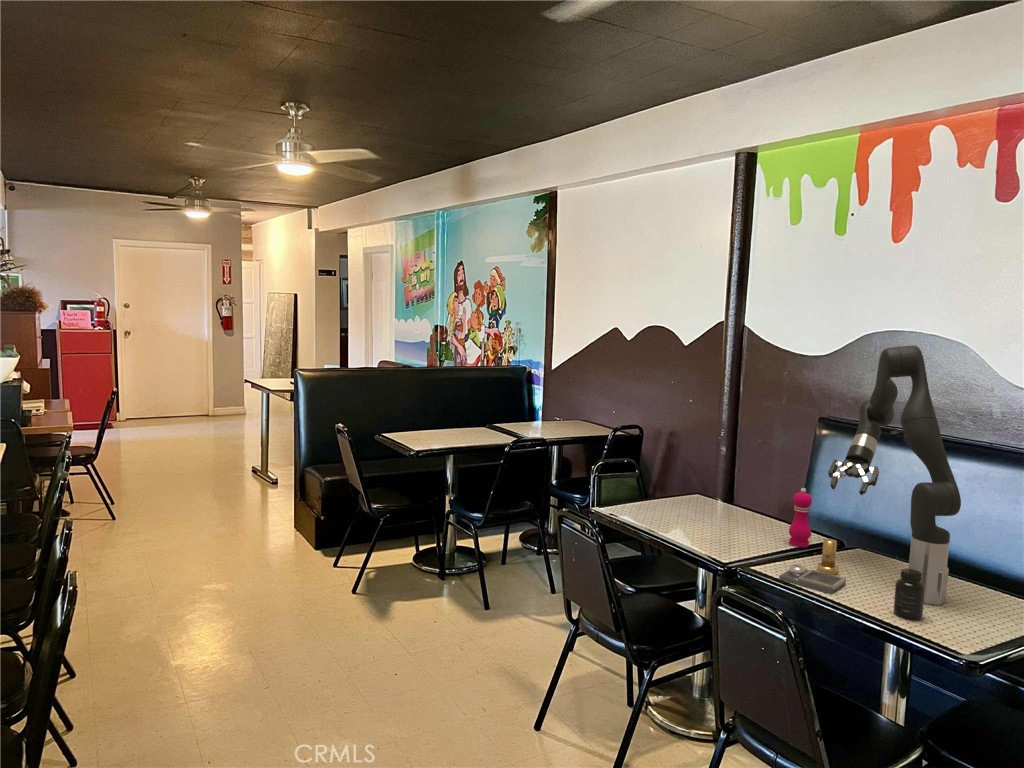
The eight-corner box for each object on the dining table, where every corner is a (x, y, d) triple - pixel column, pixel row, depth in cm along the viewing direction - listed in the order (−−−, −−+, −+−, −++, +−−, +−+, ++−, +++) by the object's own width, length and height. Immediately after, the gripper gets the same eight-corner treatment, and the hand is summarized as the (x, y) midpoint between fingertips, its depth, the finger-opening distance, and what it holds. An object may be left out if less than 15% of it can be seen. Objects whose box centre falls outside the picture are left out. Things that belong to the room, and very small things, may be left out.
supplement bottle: (896, 608, 195) (900, 565, 194) (924, 615, 191) (928, 571, 190) (890, 615, 190) (894, 571, 189) (919, 623, 186) (923, 578, 185)
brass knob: (841, 572, 222) (843, 540, 221) (834, 577, 218) (836, 544, 217) (821, 567, 226) (823, 536, 225) (814, 571, 222) (816, 540, 221)
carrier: (846, 584, 212) (847, 573, 212) (832, 594, 203) (833, 583, 203) (795, 570, 222) (795, 560, 222) (779, 579, 214) (779, 569, 213)
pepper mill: (813, 548, 245) (818, 491, 243) (792, 547, 245) (796, 490, 244) (805, 541, 252) (810, 486, 251) (784, 541, 253) (789, 485, 251)
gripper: (837, 440, 238) (821, 479, 231) (883, 447, 229) (868, 488, 221) (841, 454, 243) (825, 493, 235) (886, 461, 233) (872, 502, 226)
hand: (846, 490), depth 228 cm, fingers open, 8 cm apart
